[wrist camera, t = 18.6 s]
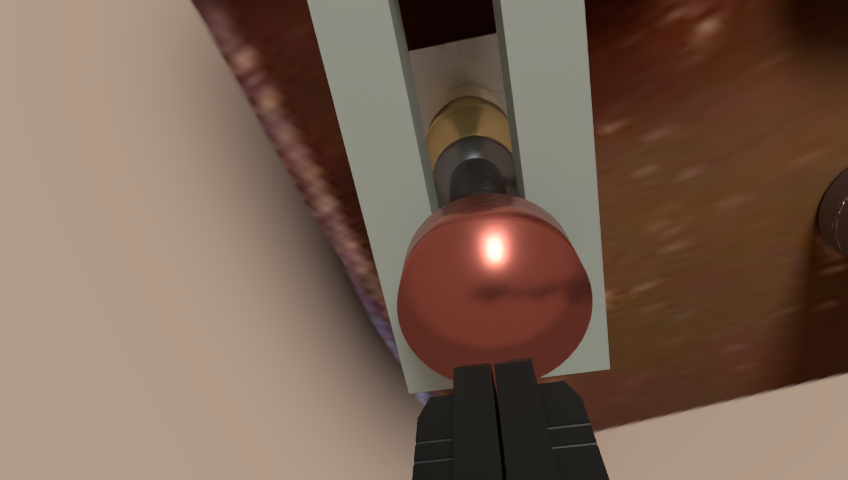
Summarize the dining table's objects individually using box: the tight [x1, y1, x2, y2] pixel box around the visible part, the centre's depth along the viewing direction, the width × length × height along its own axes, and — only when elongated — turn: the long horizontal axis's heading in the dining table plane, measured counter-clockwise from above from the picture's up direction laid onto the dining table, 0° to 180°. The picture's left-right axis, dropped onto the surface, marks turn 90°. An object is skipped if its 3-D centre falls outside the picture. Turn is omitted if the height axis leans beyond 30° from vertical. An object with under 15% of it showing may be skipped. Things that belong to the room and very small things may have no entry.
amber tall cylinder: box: [425, 86, 513, 175], centre depth 31 cm, size 5×5×14 cm
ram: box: [397, 135, 593, 388], centre depth 19 cm, size 5×5×12 cm
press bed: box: [408, 32, 508, 138], centre depth 39 cm, size 11×11×2 cm
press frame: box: [307, 0, 610, 394], centre depth 27 cm, size 8×20×25 cm, turn 11°
